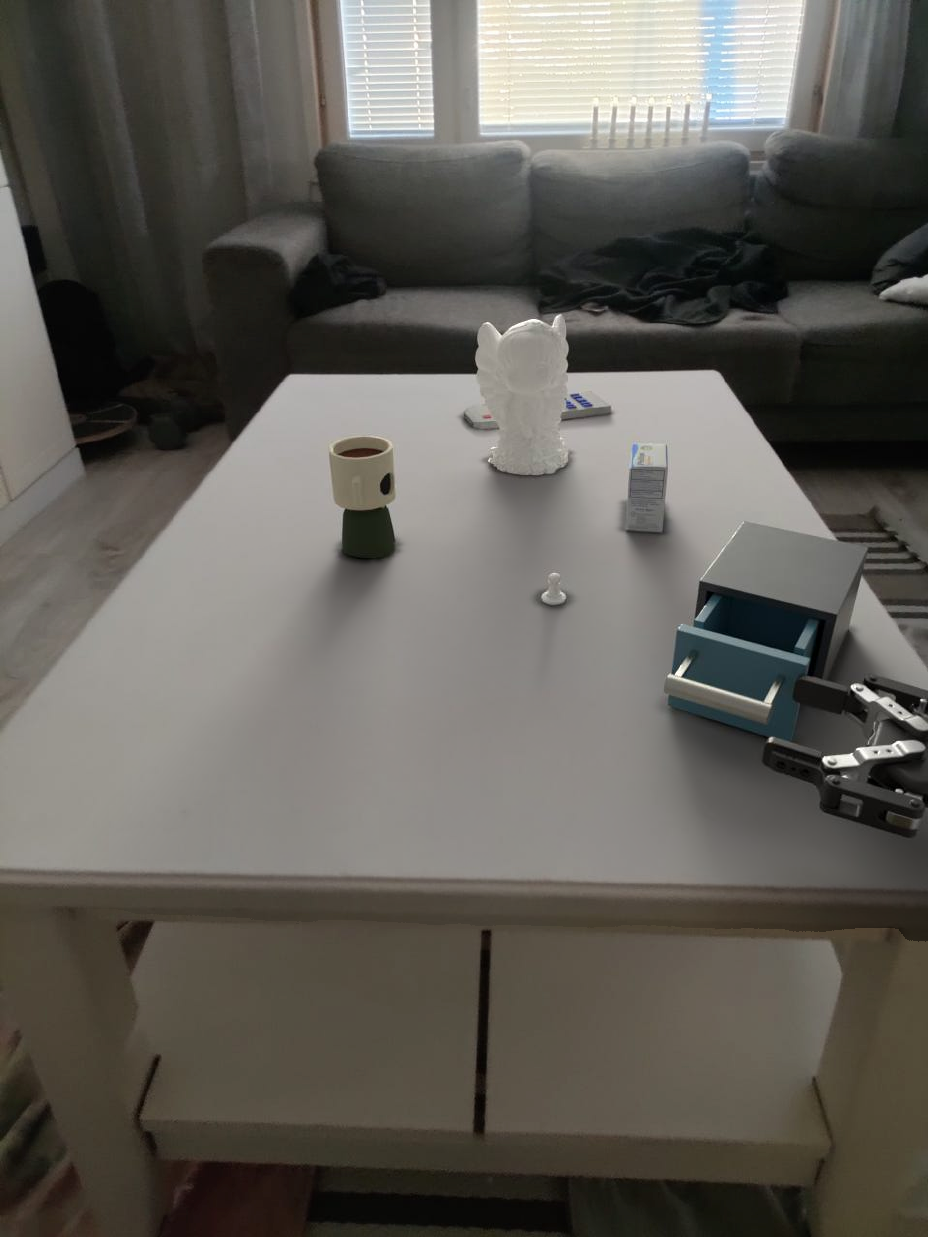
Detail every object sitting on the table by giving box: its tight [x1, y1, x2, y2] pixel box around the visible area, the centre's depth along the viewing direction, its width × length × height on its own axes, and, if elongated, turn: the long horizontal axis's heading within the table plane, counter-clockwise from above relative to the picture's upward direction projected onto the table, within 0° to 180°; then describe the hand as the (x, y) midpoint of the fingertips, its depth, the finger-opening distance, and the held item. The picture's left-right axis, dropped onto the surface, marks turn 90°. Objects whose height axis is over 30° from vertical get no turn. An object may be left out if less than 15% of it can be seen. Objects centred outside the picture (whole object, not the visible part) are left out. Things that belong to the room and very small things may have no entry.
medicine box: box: [625, 442, 669, 533], centre depth 107 cm, size 8×4×9 cm, turn 170°
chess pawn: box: [541, 572, 567, 606], centre depth 92 cm, size 3×3×4 cm
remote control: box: [463, 390, 612, 430], centre depth 142 cm, size 8×23×2 cm, turn 107°
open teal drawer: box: [663, 593, 826, 742], centre depth 75 cm, size 18×10×8 cm, turn 149°
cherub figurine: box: [474, 314, 570, 476], centre depth 121 cm, size 13×12×20 cm
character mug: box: [328, 435, 397, 560], centre depth 101 cm, size 11×7×13 cm, turn 178°
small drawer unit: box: [692, 520, 869, 681], centre depth 82 cm, size 14×12×10 cm
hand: (780, 717), depth 65 cm, fingers open, 8 cm apart
